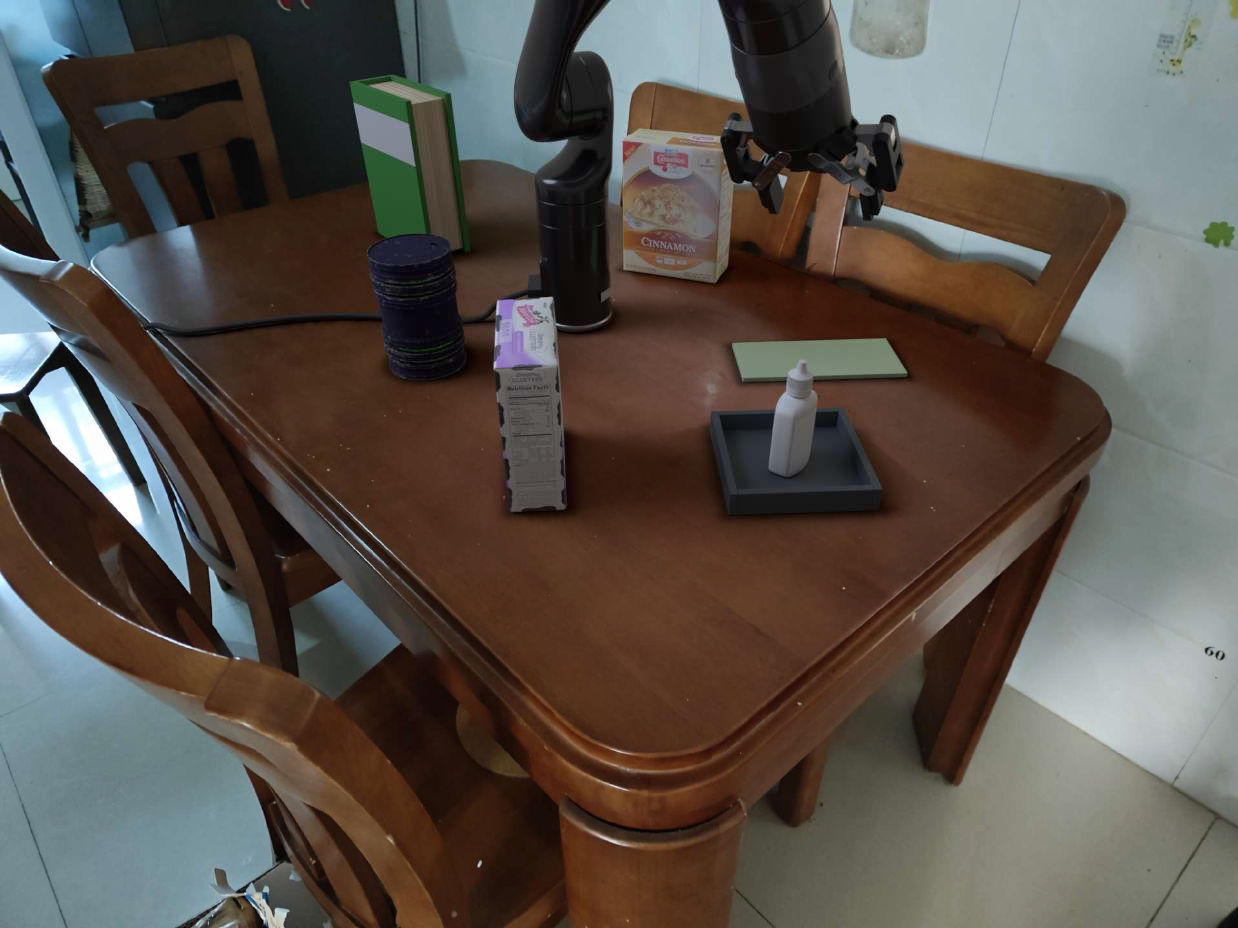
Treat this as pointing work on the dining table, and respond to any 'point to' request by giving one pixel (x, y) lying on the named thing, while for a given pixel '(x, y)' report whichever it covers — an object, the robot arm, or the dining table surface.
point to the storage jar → (418, 305)
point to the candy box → (530, 404)
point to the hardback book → (411, 158)
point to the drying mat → (818, 359)
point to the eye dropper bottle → (794, 423)
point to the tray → (821, 486)
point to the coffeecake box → (676, 205)
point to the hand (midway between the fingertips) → (822, 209)
